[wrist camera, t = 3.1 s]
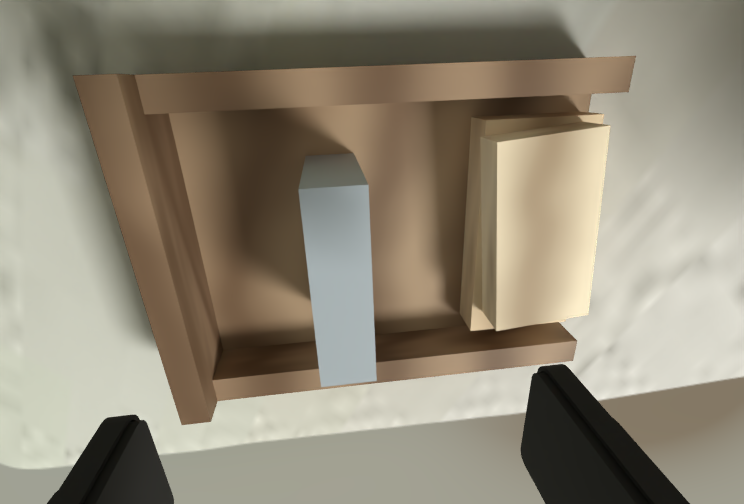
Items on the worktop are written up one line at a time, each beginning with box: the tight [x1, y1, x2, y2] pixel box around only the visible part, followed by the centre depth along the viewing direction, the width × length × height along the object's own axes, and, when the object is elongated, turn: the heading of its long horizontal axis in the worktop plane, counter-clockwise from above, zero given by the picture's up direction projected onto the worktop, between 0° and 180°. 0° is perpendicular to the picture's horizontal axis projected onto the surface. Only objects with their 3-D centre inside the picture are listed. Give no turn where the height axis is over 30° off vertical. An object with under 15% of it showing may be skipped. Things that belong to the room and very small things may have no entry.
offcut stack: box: [460, 111, 610, 331], centre depth 21 cm, size 6×12×4 cm, turn 2°
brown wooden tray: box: [73, 56, 636, 425], centre depth 21 cm, size 23×17×5 cm
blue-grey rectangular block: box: [298, 153, 377, 387], centre depth 19 cm, size 2×9×7 cm, turn 2°
